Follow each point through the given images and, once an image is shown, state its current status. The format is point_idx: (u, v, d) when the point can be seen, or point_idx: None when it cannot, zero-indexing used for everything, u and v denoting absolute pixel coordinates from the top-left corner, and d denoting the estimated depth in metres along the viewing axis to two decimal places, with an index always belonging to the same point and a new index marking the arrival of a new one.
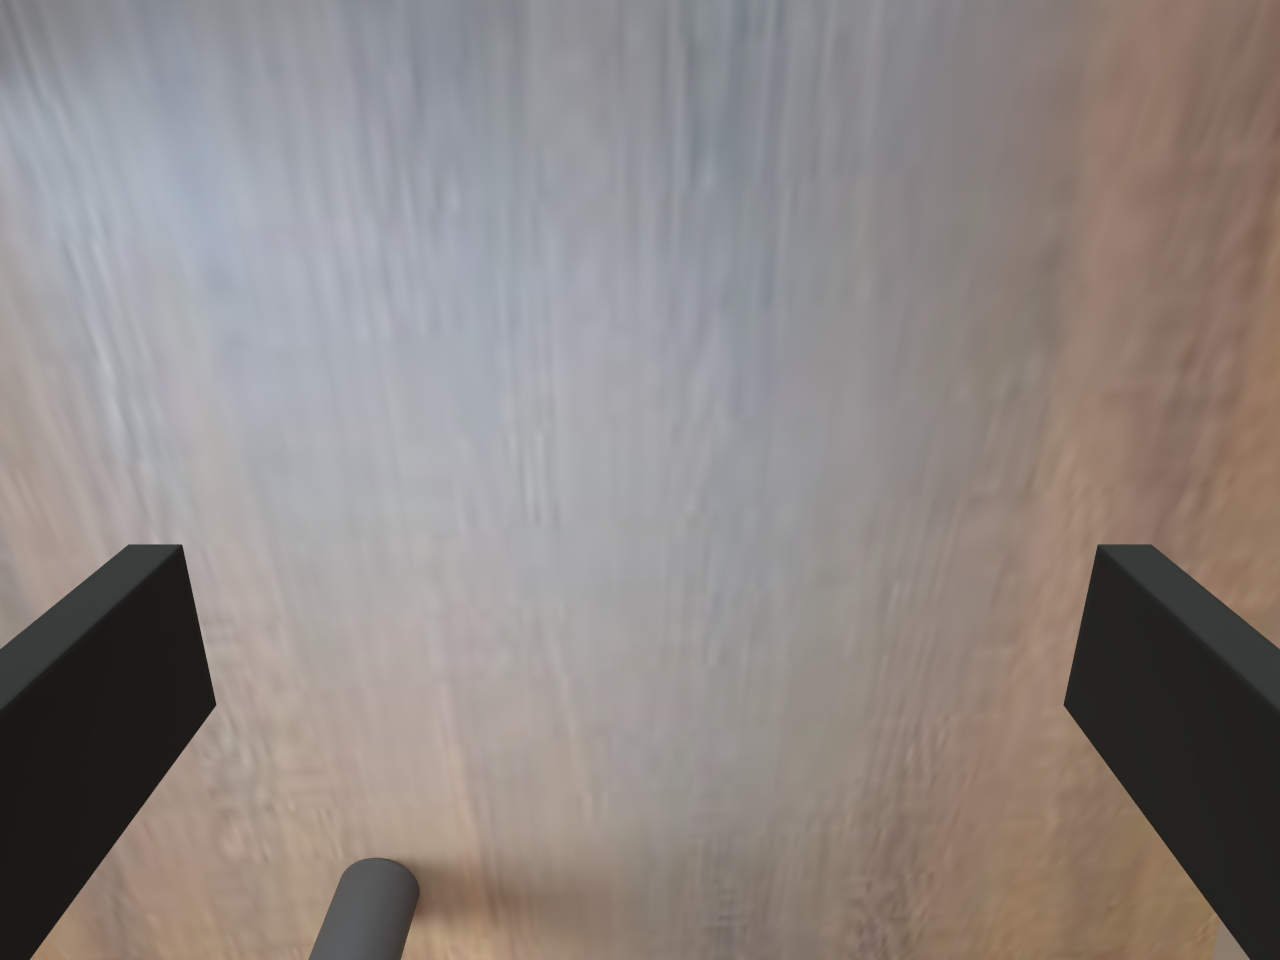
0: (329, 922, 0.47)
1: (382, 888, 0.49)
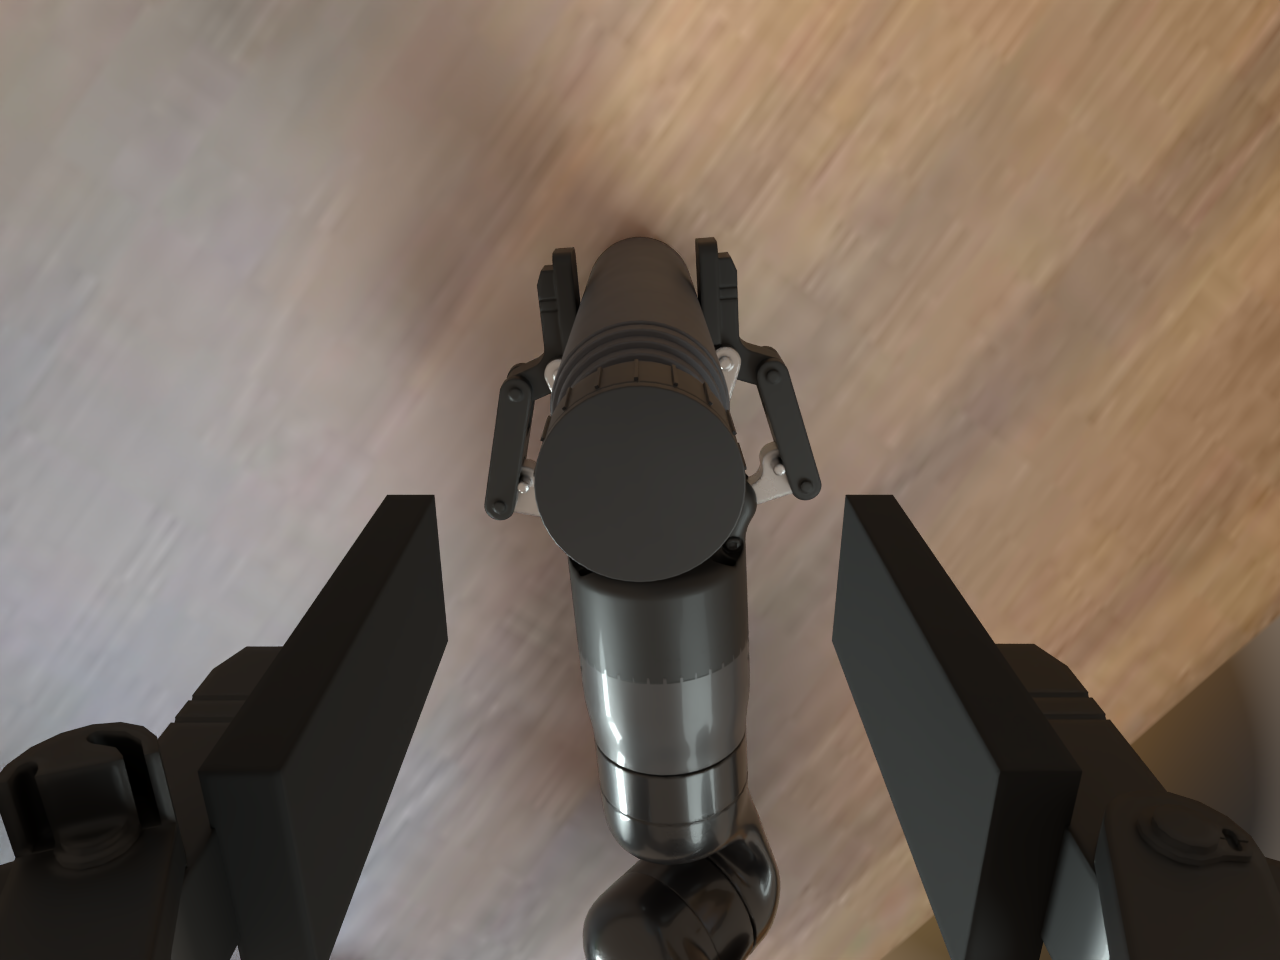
0: None
1: None
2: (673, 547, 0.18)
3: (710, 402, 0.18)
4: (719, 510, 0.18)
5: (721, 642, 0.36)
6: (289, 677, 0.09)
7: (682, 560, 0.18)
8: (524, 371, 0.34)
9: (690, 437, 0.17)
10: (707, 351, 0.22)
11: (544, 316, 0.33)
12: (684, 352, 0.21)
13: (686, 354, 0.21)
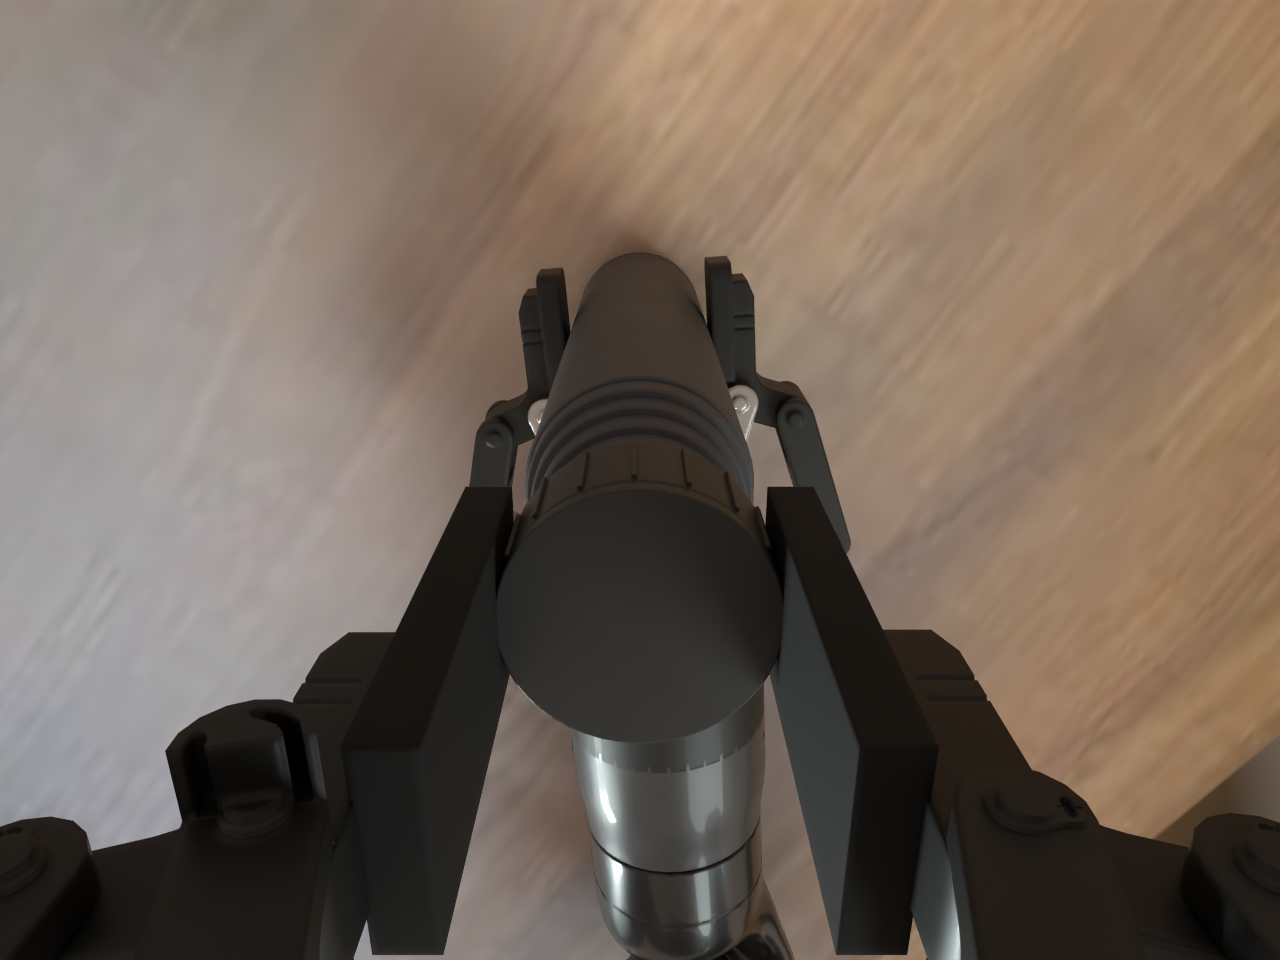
0: None
1: None
2: (684, 700, 0.13)
3: (737, 508, 0.13)
4: (748, 653, 0.13)
5: (734, 723, 0.31)
6: (409, 659, 0.10)
7: (697, 716, 0.14)
8: (504, 412, 0.29)
9: (709, 558, 0.13)
10: (726, 414, 0.17)
11: (527, 349, 0.28)
12: (697, 420, 0.16)
13: (700, 423, 0.16)
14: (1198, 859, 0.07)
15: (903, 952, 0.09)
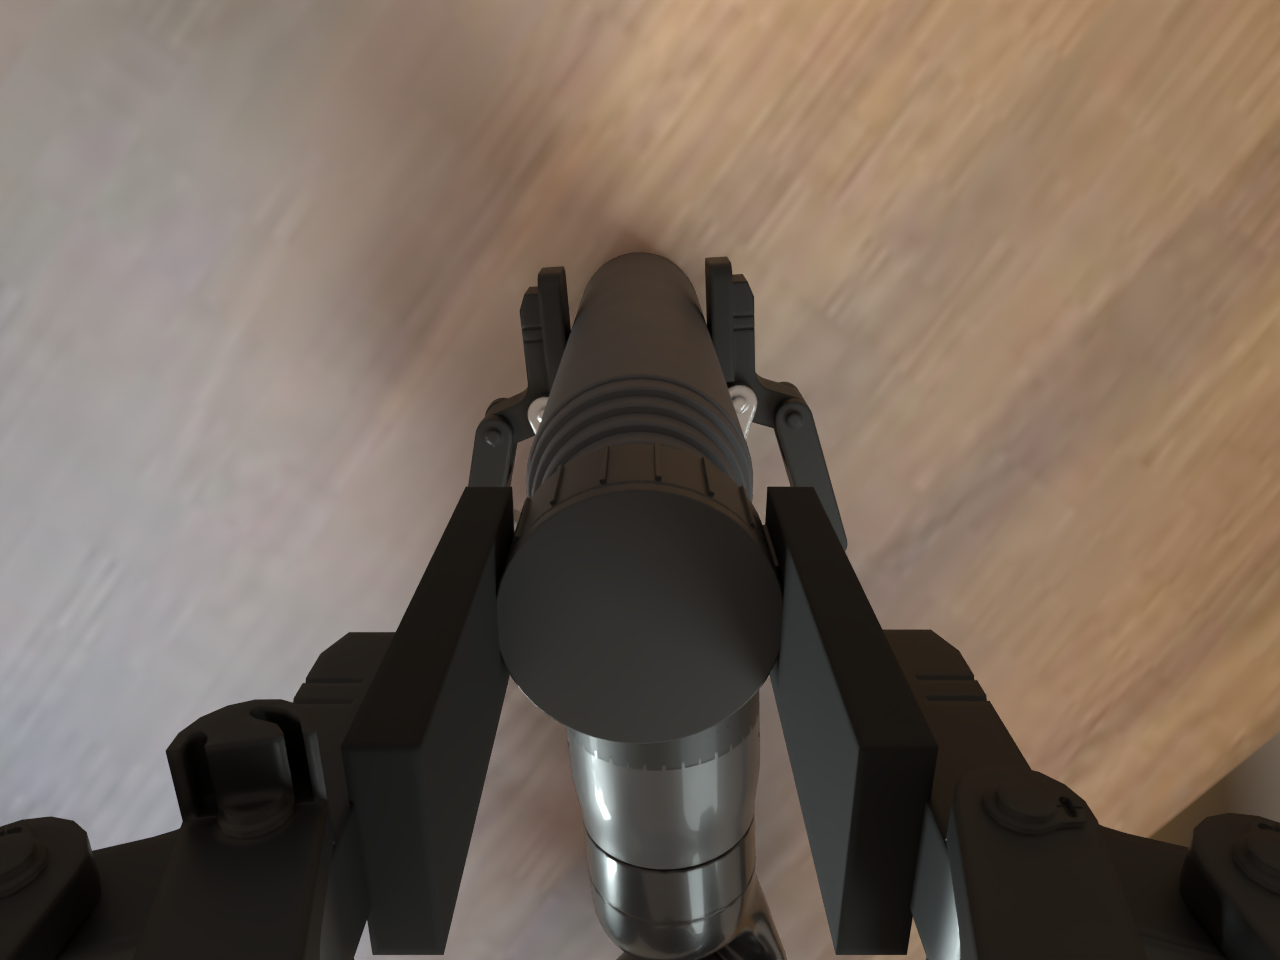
0: None
1: None
2: (664, 535, 0.12)
3: None
4: (574, 537, 0.12)
5: (729, 722, 0.31)
6: (409, 659, 0.10)
7: (667, 512, 0.12)
8: (504, 410, 0.29)
9: (540, 634, 0.13)
10: (726, 413, 0.17)
11: (528, 347, 0.28)
12: (698, 418, 0.16)
13: (700, 421, 0.16)
14: (1198, 859, 0.07)
15: (902, 952, 0.09)
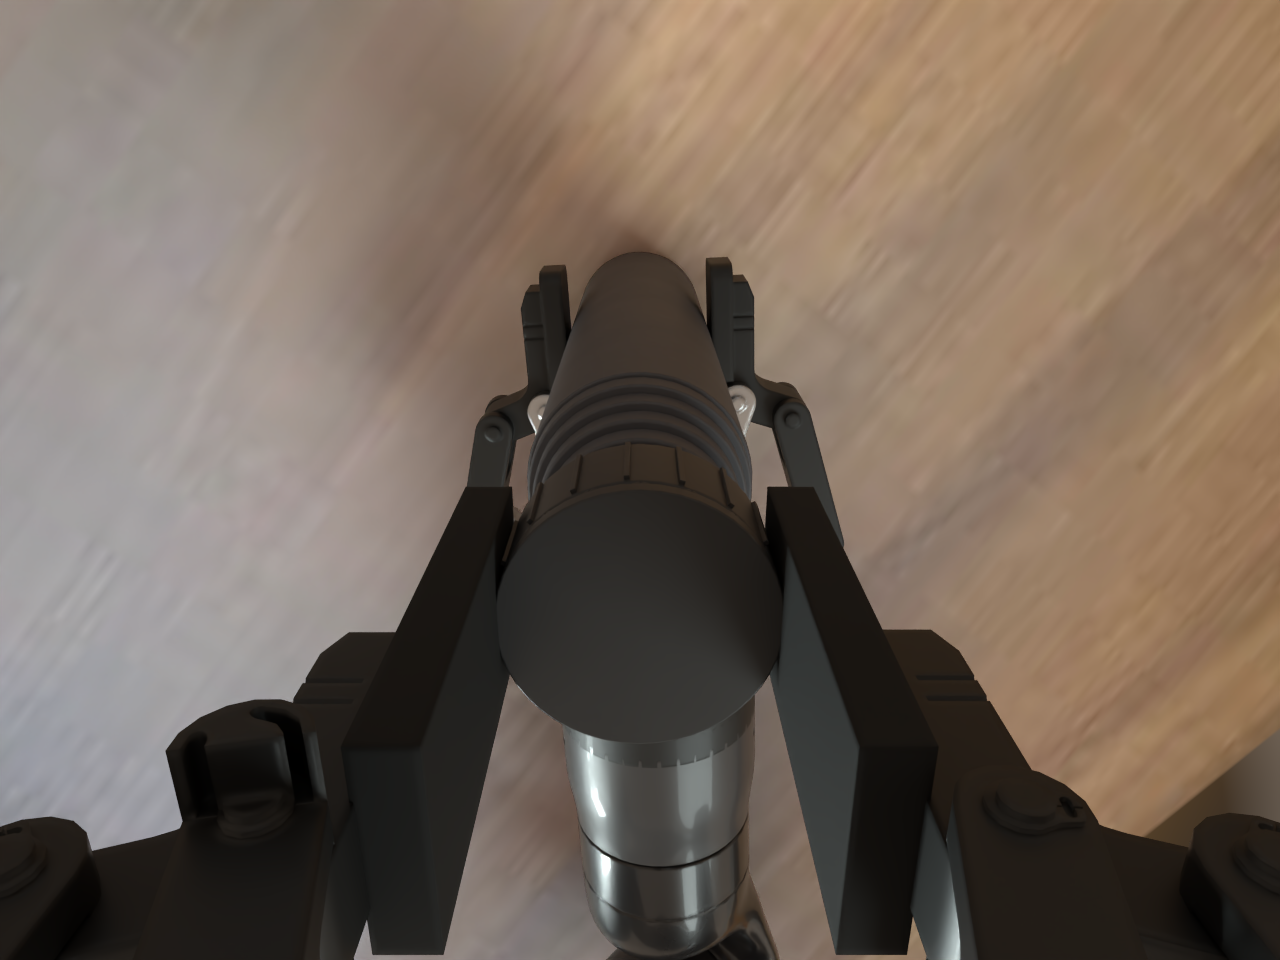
0: None
1: None
2: (558, 675, 0.13)
3: None
4: (623, 720, 0.14)
5: (725, 720, 0.31)
6: (409, 659, 0.10)
7: (541, 689, 0.13)
8: (504, 407, 0.29)
9: (720, 673, 0.13)
10: (726, 412, 0.18)
11: (528, 344, 0.28)
12: (698, 417, 0.16)
13: (701, 419, 0.16)
14: (1198, 859, 0.07)
15: (903, 952, 0.09)
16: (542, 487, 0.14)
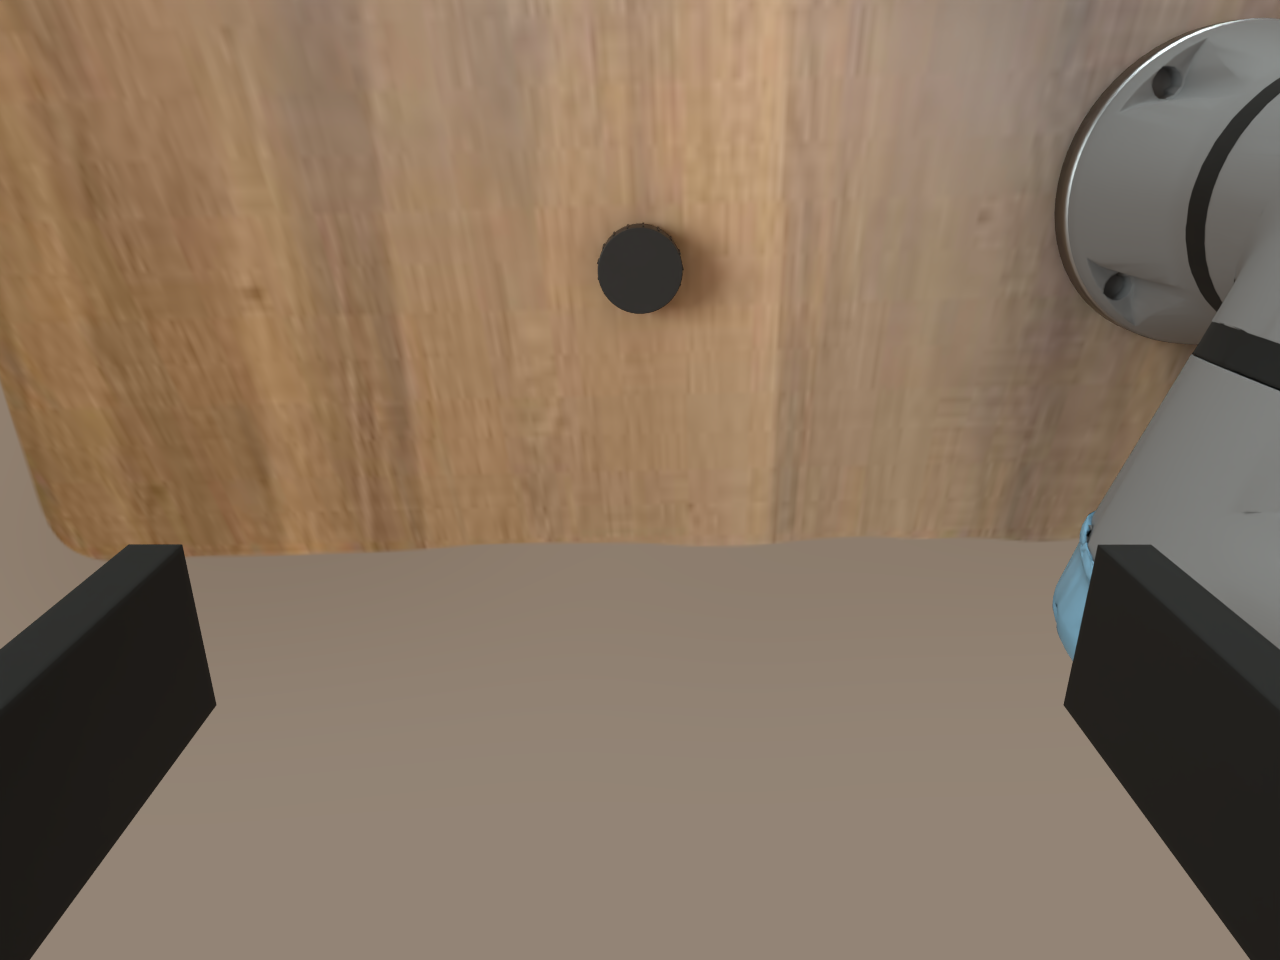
0: None
1: None
2: (669, 274, 0.45)
3: (627, 227, 0.44)
4: (665, 249, 0.44)
5: None
6: None
7: (676, 274, 0.45)
8: None
9: (632, 242, 0.44)
10: None
11: None
12: None
13: None
14: None
15: None
16: None
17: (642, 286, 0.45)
